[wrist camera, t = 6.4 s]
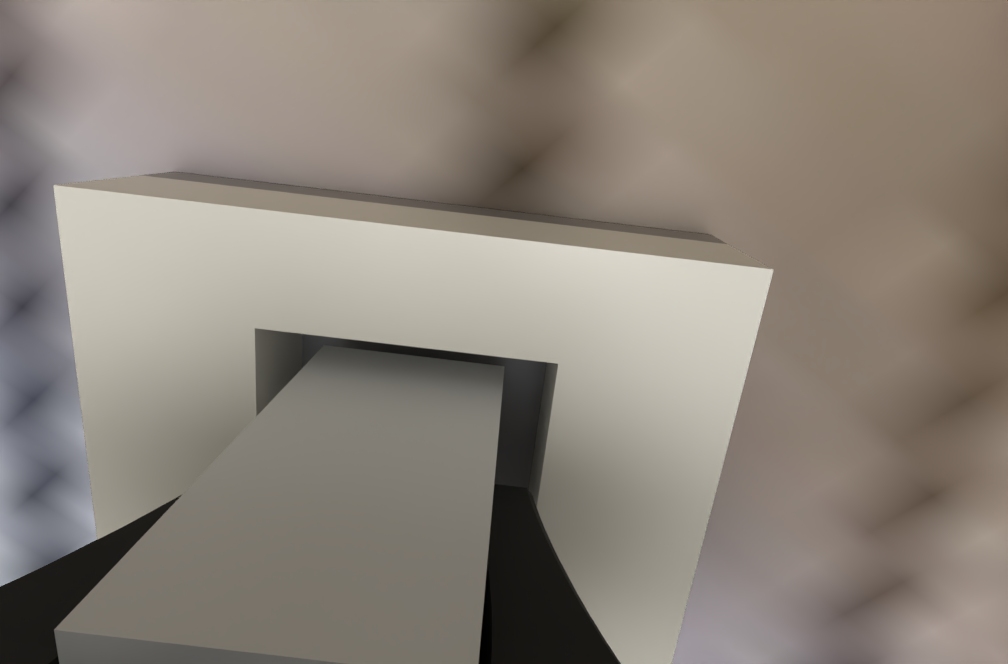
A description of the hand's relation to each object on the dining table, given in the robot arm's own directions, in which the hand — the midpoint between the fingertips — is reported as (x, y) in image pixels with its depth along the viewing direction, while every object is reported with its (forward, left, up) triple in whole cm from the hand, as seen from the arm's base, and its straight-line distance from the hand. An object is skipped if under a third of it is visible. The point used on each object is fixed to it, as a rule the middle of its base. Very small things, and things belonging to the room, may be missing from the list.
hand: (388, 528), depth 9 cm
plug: (0, 0, -2) cm, 2 cm away
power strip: (-4, 0, -4) cm, 6 cm away
